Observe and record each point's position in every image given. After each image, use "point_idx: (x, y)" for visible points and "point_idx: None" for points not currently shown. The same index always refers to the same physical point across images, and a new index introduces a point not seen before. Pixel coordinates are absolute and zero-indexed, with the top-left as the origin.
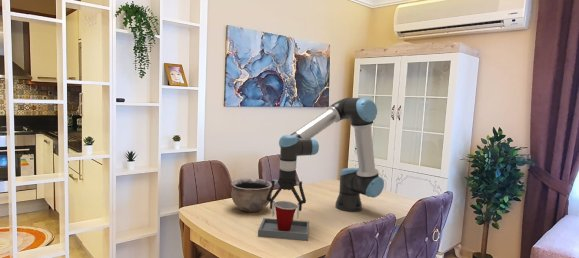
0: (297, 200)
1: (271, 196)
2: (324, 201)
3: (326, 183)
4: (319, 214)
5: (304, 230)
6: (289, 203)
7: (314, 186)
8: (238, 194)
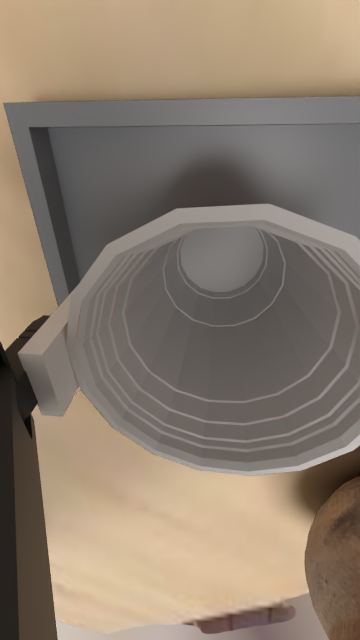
0: (9, 408)
1: (307, 568)
2: (89, 548)
3: (113, 623)
4: (77, 467)
5: (87, 265)
6: (184, 443)
7: (141, 614)
8: None
